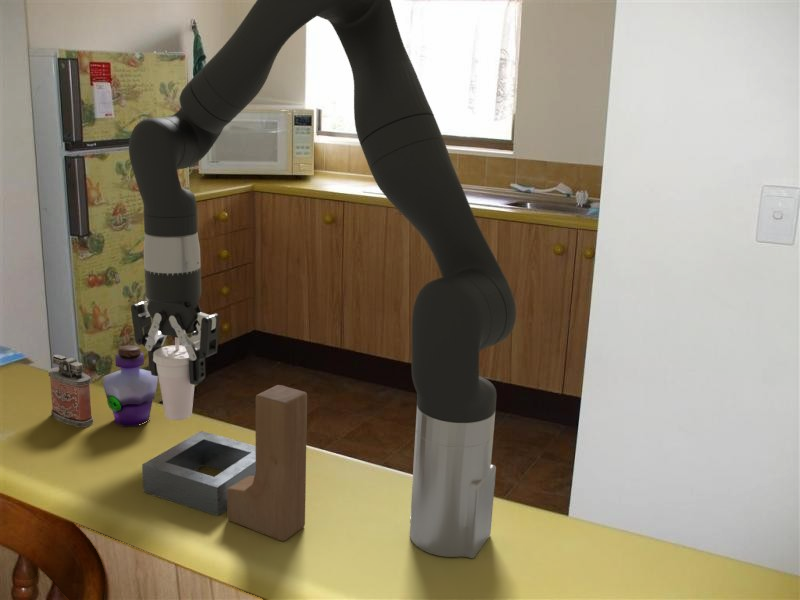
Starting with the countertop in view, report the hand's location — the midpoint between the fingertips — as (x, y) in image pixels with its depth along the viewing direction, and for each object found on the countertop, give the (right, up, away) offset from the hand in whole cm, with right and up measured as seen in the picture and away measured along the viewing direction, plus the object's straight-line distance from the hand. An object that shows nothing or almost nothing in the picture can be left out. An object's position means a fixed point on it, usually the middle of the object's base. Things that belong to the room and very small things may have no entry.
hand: (177, 378), depth 121 cm
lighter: (-19, -8, +11) cm, 23 cm away
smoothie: (0, -6, +2) cm, 6 cm away
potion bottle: (-10, -8, +11) cm, 17 cm away
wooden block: (+15, -17, -16) cm, 28 cm away
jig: (+6, -14, -7) cm, 17 cm away
